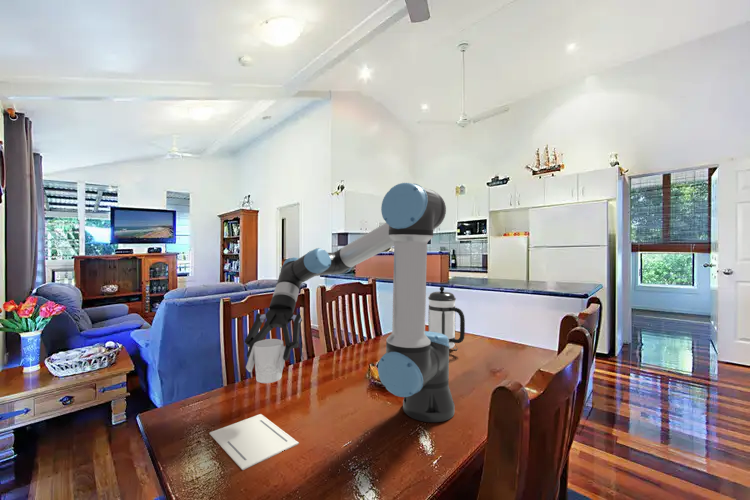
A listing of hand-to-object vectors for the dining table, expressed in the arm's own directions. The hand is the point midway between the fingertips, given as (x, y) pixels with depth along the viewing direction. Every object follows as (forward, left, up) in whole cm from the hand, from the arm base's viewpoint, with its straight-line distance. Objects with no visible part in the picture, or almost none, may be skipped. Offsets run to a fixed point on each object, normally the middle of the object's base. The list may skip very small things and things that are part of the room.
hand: (263, 370), depth 90 cm
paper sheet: (-3, +5, -15) cm, 16 cm away
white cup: (+2, -3, -4) cm, 5 cm away
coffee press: (+5, -93, -15) cm, 95 cm away
